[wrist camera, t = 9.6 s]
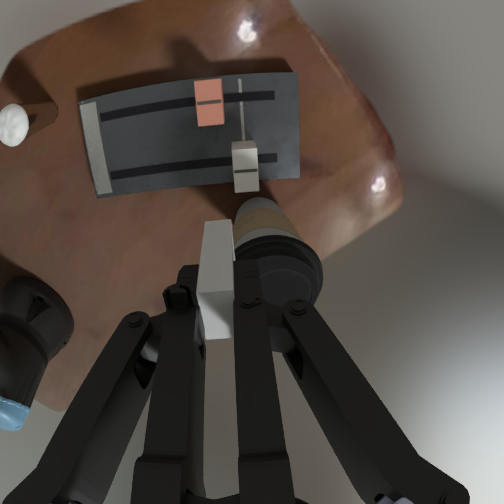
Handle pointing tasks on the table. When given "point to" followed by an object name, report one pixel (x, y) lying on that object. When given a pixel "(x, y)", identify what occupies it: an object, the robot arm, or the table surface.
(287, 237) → the coffee cup
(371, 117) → the table surface
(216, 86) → the fader
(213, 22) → the table surface
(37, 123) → the milkshake
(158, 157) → the console
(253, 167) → the fader
